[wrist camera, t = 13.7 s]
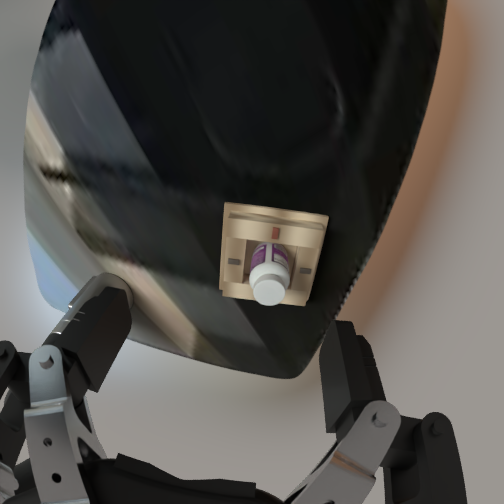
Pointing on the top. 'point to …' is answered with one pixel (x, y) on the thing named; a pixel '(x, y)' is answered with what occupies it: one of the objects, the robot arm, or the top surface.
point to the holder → (275, 231)
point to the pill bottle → (269, 273)
